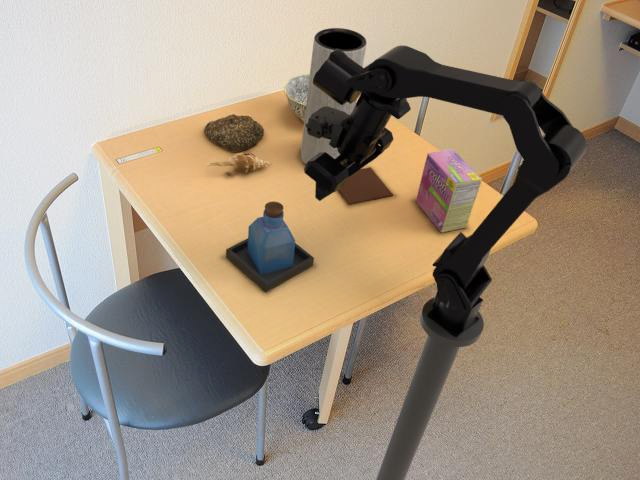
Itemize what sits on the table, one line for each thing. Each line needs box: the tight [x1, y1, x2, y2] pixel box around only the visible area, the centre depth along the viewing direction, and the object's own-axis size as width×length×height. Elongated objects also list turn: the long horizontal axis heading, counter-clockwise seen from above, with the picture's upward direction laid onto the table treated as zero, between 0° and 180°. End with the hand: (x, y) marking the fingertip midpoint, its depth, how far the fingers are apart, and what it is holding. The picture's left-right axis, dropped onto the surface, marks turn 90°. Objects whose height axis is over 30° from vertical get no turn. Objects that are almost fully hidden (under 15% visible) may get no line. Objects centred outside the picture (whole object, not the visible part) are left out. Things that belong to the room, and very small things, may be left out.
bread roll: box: [203, 113, 265, 153], centre depth 147 cm, size 13×12×5 cm
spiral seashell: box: [207, 151, 273, 177], centre depth 137 cm, size 14×5×4 cm, turn 127°
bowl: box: [283, 73, 310, 123], centre depth 152 cm, size 16×16×8 cm
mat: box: [337, 167, 394, 206], centre depth 136 cm, size 10×10×1 cm
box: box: [415, 148, 483, 233], centre depth 126 cm, size 10×6×12 cm, turn 17°
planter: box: [300, 27, 368, 165], centre depth 134 cm, size 10×10×27 cm
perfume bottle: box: [247, 200, 296, 275], centre depth 114 cm, size 6×6×12 cm
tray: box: [225, 237, 315, 293], centre depth 118 cm, size 11×11×2 cm
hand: (332, 186), depth 115 cm, fingers open, 9 cm apart
